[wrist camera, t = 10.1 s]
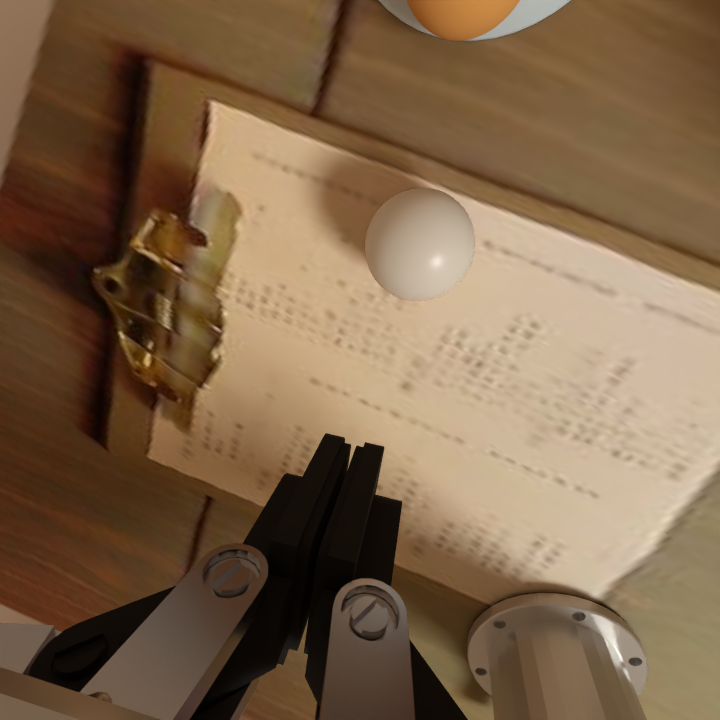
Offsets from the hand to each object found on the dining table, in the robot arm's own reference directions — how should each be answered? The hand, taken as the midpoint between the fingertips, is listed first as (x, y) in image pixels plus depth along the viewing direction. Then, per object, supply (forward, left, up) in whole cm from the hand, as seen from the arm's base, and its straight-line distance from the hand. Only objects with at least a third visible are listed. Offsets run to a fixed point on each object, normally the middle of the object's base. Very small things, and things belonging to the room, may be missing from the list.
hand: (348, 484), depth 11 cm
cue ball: (+6, 0, -12) cm, 14 cm away
